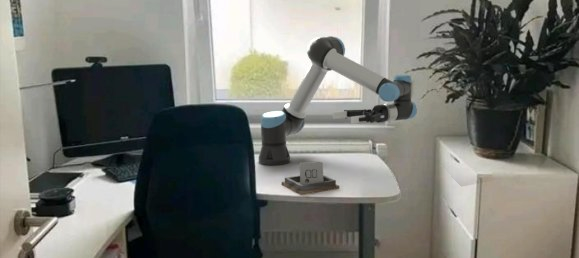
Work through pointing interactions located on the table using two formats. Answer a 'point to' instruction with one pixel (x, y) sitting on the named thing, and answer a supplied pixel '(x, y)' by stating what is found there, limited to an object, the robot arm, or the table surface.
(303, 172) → the electrical switch
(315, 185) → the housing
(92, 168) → the table surface
